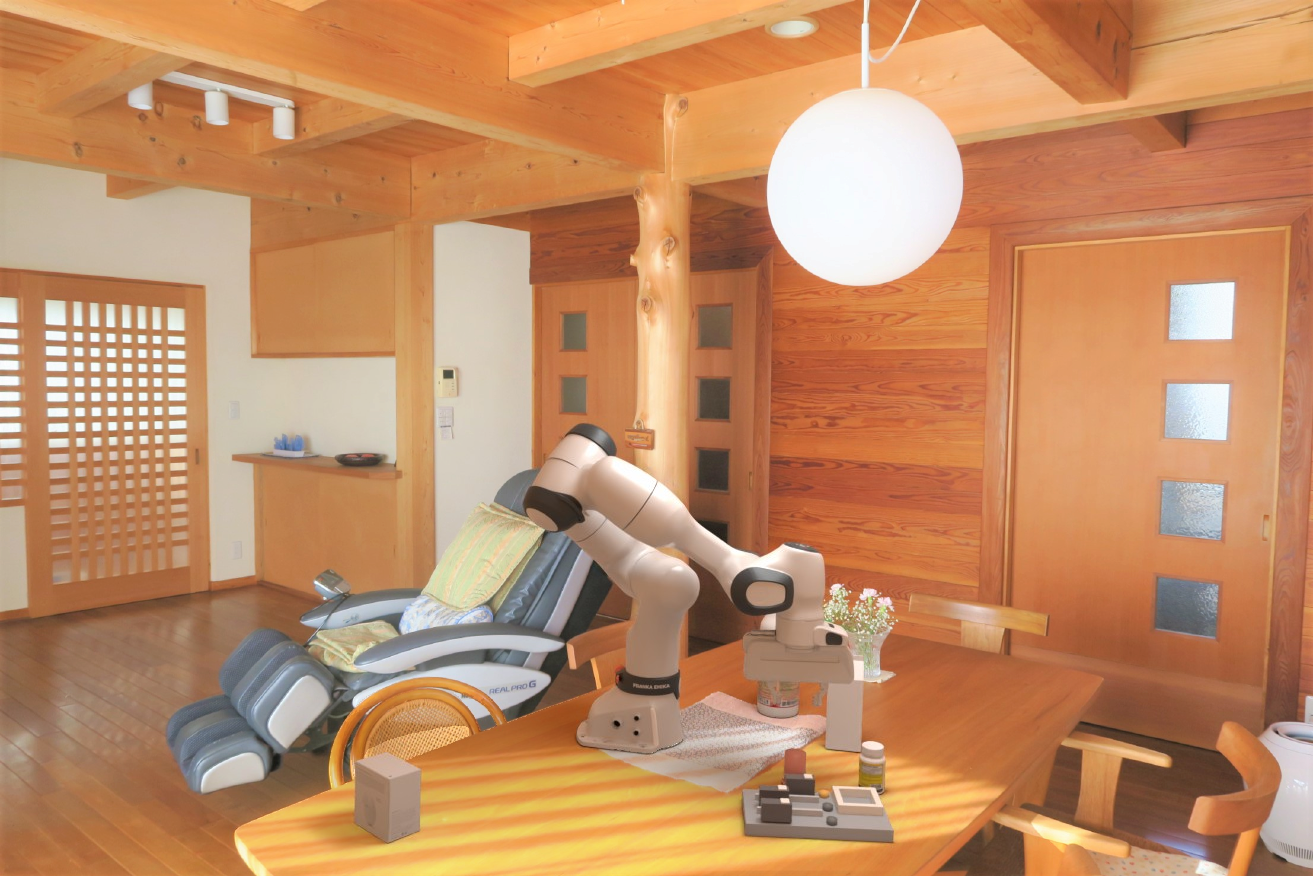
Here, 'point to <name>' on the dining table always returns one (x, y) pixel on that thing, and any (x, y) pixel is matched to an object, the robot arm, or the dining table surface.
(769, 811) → the block
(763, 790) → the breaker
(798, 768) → the cap
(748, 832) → the panel
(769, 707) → the fruit juice
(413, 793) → the skincare box
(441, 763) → the dining table surface
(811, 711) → the dining table surface
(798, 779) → the block
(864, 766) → the supplement bottle
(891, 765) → the dining table surface
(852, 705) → the milk carton
